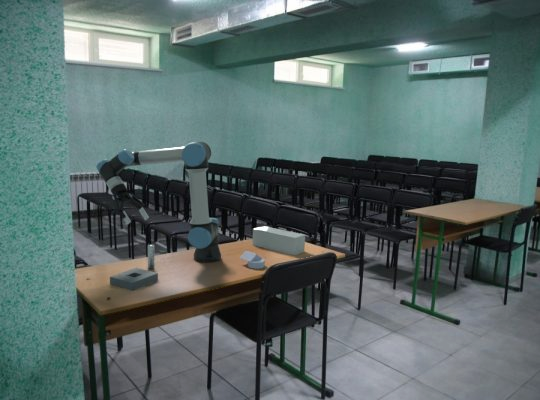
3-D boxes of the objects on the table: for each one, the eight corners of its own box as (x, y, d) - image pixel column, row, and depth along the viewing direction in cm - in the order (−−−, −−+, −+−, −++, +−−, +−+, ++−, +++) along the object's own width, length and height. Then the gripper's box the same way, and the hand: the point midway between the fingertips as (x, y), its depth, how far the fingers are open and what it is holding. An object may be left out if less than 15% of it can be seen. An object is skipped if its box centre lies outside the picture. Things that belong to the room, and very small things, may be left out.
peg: (151, 266, 224) (150, 244, 222) (155, 268, 222) (155, 245, 220) (146, 268, 221) (146, 245, 219) (151, 269, 219) (151, 246, 217)
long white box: (252, 245, 272) (252, 228, 271) (262, 242, 281) (263, 225, 279) (294, 255, 254) (295, 237, 252) (304, 252, 262) (305, 234, 260)
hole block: (136, 274, 211) (136, 267, 211) (157, 280, 205) (157, 273, 204) (110, 284, 198) (109, 276, 197) (132, 290, 191) (132, 283, 190)
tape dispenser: (239, 263, 234) (256, 269, 225) (239, 251, 233) (256, 257, 224) (251, 260, 240) (268, 266, 232) (251, 249, 239) (268, 254, 230)
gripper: (129, 189, 236) (149, 221, 233) (94, 193, 213) (116, 229, 210) (137, 181, 233) (158, 213, 230) (103, 184, 210) (125, 220, 207)
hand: (138, 221), depth 220 cm, fingers open, 13 cm apart
